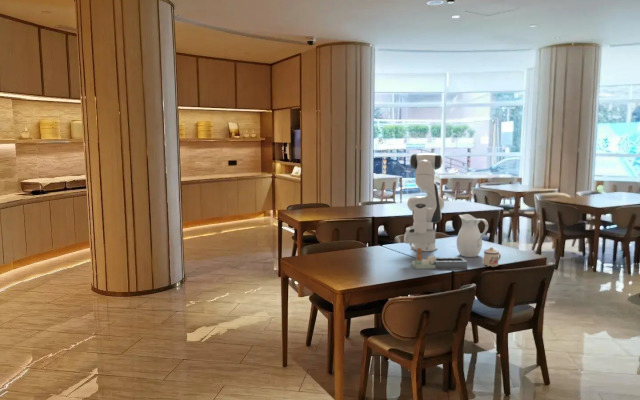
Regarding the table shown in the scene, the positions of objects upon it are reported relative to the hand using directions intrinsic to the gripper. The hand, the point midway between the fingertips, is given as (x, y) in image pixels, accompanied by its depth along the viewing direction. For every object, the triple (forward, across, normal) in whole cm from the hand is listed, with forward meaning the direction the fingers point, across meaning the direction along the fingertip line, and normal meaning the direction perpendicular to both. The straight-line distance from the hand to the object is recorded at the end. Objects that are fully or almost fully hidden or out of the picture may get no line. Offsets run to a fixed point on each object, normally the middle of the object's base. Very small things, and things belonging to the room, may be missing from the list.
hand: (419, 249), depth 329 cm
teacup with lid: (+9, -46, +8) cm, 47 cm away
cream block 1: (+6, -4, +11) cm, 13 cm away
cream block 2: (+5, -7, +11) cm, 14 cm away
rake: (+9, 0, +1) cm, 9 cm away
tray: (+8, 0, +11) cm, 14 cm away
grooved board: (+8, -17, +11) cm, 22 cm away
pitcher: (+9, -40, -14) cm, 43 cm away
